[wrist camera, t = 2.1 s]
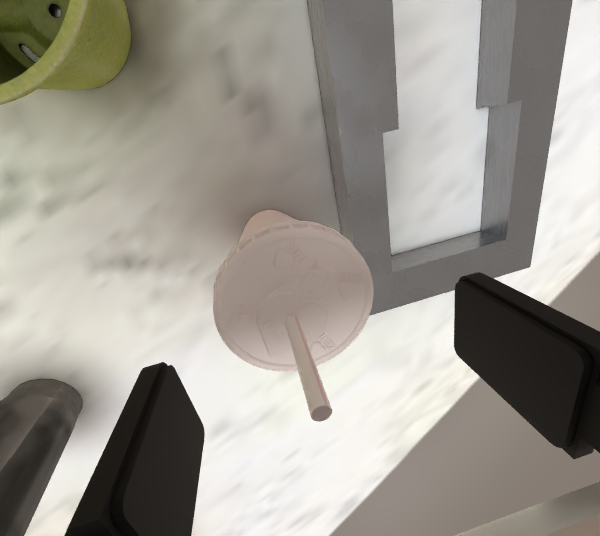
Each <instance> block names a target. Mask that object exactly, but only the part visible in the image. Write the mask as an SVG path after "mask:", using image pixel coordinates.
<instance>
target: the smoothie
mask: <svg viewBox="0 0 600 536" xmlns="http://www.w3.org/2000/svg"><path fill="white" fill-rule="evenodd" d="M373 295H374V289H373V280H372V276H371V273H370V270H369V267H368V265H367V263H366V261H365V260H364V258H363V257H362V255H361V254H360V253H359V252H358V250H357V249H356V248H355V247H354V246H353V245H352V243H351V242H350V241H349V240H348V239H347V238H345V237H344V236H343V235H341V234H340V233H339V232H337V231H336V230H335V229H333V228H330V227H327V226H325V225H322V224H319V223H316V222H310V221H298V220H296V219H294V218H292V217H290V216H288V215H286V214H284V213H282V212H280V211H276V210H264V211H261V212H259V213H257V214H255V215H254V216H252V217H251V218H250V219H249V221H248V222H247V224H246V226H245V228H244V231H243V233H242V236H241V238H240V241H239V243H238V244H237V245H236V246H235V247H234V248H233V249H232V250H231V252H230V253H229V254H228V256H227V257H226V259H225V260H224V262H223V263H222V265H221V266H220V269H219V272H218V275H217V278H216V281H215V284H214V304H213V310H214V319H215V323H216V327H217V329H218V332H219V334H220V336H221V338H222V340H223V341H224V342H225V344H226V345H227V346H228V347H229V349H230V350H231V351H232V352H233V353H235V354H236V355H237V356H238V357H240V358H241V359H243V360H244V361H246V362H248V363H250V364H252V365H254V366H257V367H260V368H264V369H268V370H274V371H295V370H298V372H299V375H300V379H301V383H302V386H303V390H304V393H305V397H306V400H307V404H308V408H309V411H310V415H311V418H312V419H313V420H314V421H324V420H326V419H327V418H329V417H330V416H331V414H332V409H331V406H330V403H329V400H328V398H327V395H326V392H325V390H324V387H323V384H322V381H321V379H320V376H319V373H318V370H317V368H316V366H317V365H319V364H321V363H324V362H326V361H328V360H330V359H331V358H333V357H335V356H336V355H338V354H339V353H341V352H342V351H343V350H344V349H345V348H347V347H348V346H349V345H350V344H351V343H352V342H353V341H354V340H355V338H356V337H357V336H358V335H359V333H360V332H361V330H362V329H363V327H364V325H365V323H366V321H367V319H368V317H369V314H370V311H371V308H372V303H373Z"/></svg>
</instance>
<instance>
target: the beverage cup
mask: <svg viewBox="0 0 600 536" xmlns="http://www.w3.org/2000/svg"><path fill="white" fill-rule="evenodd" d="M81 409H82V399H81V397H80V394H79V393H78V392H77V391H76V390H75V389H74V388H73V387H71V386H69V385H67V384H65V383H63V382H60V381H56V380H50V379H37V380H30V381H28V382H25V383H23V384H20V385H19V386H18V387H17V388H15V389H14V390H13V391H12V392H11V393H10V394H9V395H8V396H7V397H6V398H4V399H3V400H2V401H0V536H24V535H25V533H26V530H27V528H28V526H29V524H30V522H31V520H32V517H33V515H34V513H35V511H36V509H37V507H38V504H39V502H40V500H41V498H42V496H43V494H44V491H45V489H46V487H47V485H48V483H49V481H50V478H51V476H52V474H53V472H54V470H55V468H56V465H57V463H58V461H59V459H60V457H61V455H62V452H63V450H64V448H65V446H66V444H67V442H68V439H69V437H70V435H71V433H72V431H73V429H74V426H75V422H76V420H77V417H78V414H79V412H80V410H81Z"/></svg>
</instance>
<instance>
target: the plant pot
mask: <svg viewBox="0 0 600 536" xmlns="http://www.w3.org/2000/svg"><path fill="white" fill-rule="evenodd" d="M51 4H56V5H58V6H59V7H60V9H61V15H60V16H59V17H57V18H55V17H53V16H52V15H51V14H50V12H49V10H48V9H49V7H50V5H51ZM20 43H22V44H24V45H26V46H27V47H28V48H29V49H30V50H31V51H32V52H33V53H34V54H36V55H37V56H38V57H39V58H40V59H39V60H38V61H37V62H36V63H34V62H33V61H32V60H30V59H29V58H28V57H26V55H25V54H24V53H23V52H22V51H21V49H20V47H19V44H20ZM130 44H131V30H130V23H129V18H128V12H127V8H126V5H125V2H124V0H0V105H1V104H4V103H7V102H11V101H14V100H16V99H18V98H21V97H23V96H25V95H27V94H29V93H31V92H33V91H34V90H36V89H38V88H41V89H61V90H87V89H93V88H97V87H100V86H102V85H105V84H106V83H108V82H110V81H111V80H112V79H113V78H115V77H116V76H117V75H118V74H119V72H120V71H121V69H122V68H123V66H124V64H125V62H126V59H127V57H128V54H129V50H130Z"/></svg>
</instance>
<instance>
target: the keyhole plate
mask: <svg viewBox="0 0 600 536" xmlns="http://www.w3.org/2000/svg"><path fill="white" fill-rule="evenodd" d="M307 3H308V10H309V17H310V24H311V31H312V37H313V44H314V51H315V58H316V65H317V71H318V78H319V85H320V92H321V99H322V105H323V112H324V119H325V126H326V132H327V139H328V146H329V153H330V160H331V166H332V173H333V180H334V187H335V194H336V200H337V207H338V214H339V221H340V228H341V234H342V235H343V236H344V237H345V238H347V239H348V240H349V241H350V242H351V243H352V245H353V246H354V247H355V248H356V249H357V250H358V252H359V253H360V254H361V255H362V257H363V258H364V260H365V261H366V263H367V265H368V267H369V270H370V273H371V276H372V280H373V289H374V295H373V303H372V308H371V311H370V314H369V316H370V315H373V314H376V313H380V312H383V311H386V310H389V309H393V308H396V307H399V306H403V305H406V304H409V303H413V302H416V301H419V300H423V299H426V298H429V297H432V296H436V295H439V294H442V293H446V292H449V291H452V290H455V285H456V283H458V281H459V279H460V277H462V276H466V275H469V274H473V273H476V272H480V273H483V274H485V275H487V276H489V277H491V278H495V277H499V276H502V275H505V274H509V273H512V272H515V271H519V270H522V269H525V268H529V267H530V265H531V259H532V253H533V246H534V240H535V234H536V227H537V221H538V215H539V209H540V202H541V196H542V190H543V183H544V177H545V171H546V164H547V158H548V152H549V145H550V139H551V133H552V127H553V120H554V114H555V108H556V101H557V95H558V89H559V82H560V76H561V70H562V63H563V57H564V51H565V44H566V38H567V32H568V26H569V19H570V13H571V7H572V0H482V17H481V35H480V53H479V72H478V90H477V108H484V107H490V109H489V123H488V137H487V151H486V164H485V178H484V192H483V206H482V220H481V231H479V232H475V233H472V234H468V235H464V236H461V237H457V238H454V239H450V240H447V241H443V242H440V243H436V244H432V245H429V246H425V247H422V248H418V249H415V250H411V251H408V252H404V253H400V254H397V255H393V256H391V248H390V234H389V220H388V206H387V192H386V178H385V164H384V150H383V136H382V133H383V132H388V131H392V130H396V129H399V127H398V107H397V86H396V66H395V46H394V25H393V5H392V0H307ZM477 108H476V109H477Z"/></svg>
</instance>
